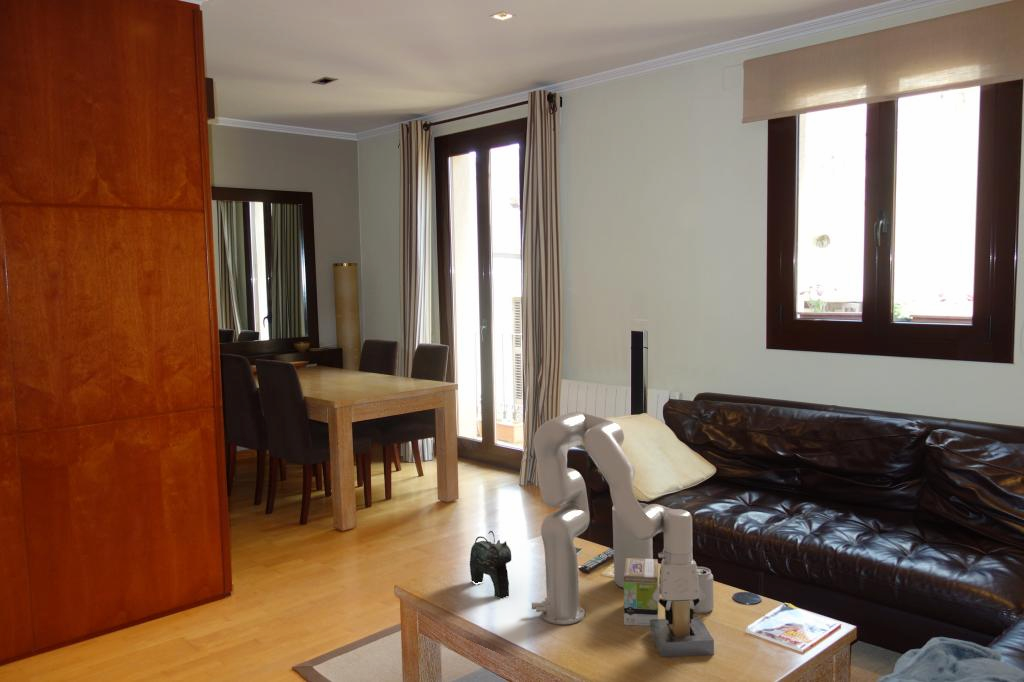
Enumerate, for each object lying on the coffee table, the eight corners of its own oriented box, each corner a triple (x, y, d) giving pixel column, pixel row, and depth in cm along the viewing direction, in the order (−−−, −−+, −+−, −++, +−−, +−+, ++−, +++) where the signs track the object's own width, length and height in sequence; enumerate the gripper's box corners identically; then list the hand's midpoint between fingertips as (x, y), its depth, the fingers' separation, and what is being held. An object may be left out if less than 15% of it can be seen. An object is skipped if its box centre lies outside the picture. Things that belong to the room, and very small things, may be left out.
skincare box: (668, 635, 215) (667, 592, 214) (683, 634, 216) (682, 591, 215) (674, 646, 209) (674, 602, 208) (690, 645, 209) (690, 601, 208)
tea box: (659, 627, 222) (658, 576, 221) (623, 625, 224) (622, 575, 223) (659, 605, 237) (657, 557, 236) (625, 603, 239) (624, 556, 238)
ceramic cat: (515, 597, 247) (512, 535, 246) (497, 602, 244) (495, 540, 242) (481, 578, 264) (479, 520, 262) (465, 583, 260) (462, 524, 258)
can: (714, 615, 229) (713, 575, 228) (688, 613, 230) (687, 574, 229) (713, 604, 236) (712, 565, 235) (687, 603, 237) (686, 564, 237)
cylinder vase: (659, 579, 256) (657, 505, 254) (644, 593, 246) (642, 515, 244) (624, 573, 263) (622, 500, 261) (608, 586, 253) (605, 510, 251)
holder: (660, 657, 205) (660, 642, 204) (650, 633, 219) (649, 619, 218) (714, 654, 205) (713, 640, 205) (699, 630, 219) (699, 616, 219)
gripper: (649, 562, 207) (650, 629, 208) (713, 560, 207) (714, 626, 208) (644, 552, 214) (645, 617, 216) (705, 550, 214) (706, 614, 216)
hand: (679, 621), depth 212 cm, fingers closed on skincare box, 4 cm apart
